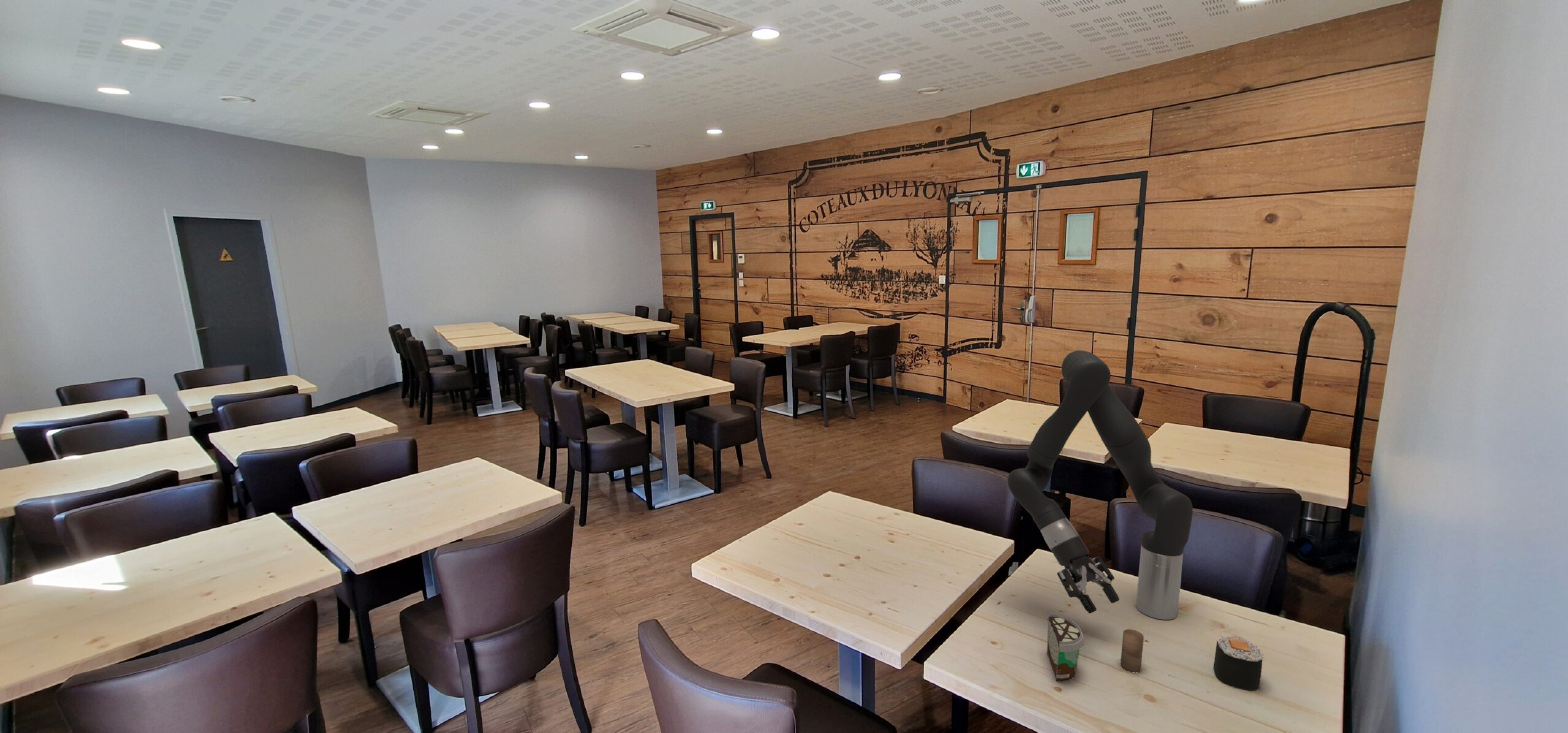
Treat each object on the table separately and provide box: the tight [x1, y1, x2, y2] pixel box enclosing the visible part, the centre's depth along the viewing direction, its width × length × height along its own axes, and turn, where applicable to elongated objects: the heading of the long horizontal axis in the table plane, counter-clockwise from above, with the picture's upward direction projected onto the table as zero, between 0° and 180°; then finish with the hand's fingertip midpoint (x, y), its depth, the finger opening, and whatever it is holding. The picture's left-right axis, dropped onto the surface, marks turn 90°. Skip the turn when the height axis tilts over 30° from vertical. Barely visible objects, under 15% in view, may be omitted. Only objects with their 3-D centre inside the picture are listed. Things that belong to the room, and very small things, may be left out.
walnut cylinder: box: [1120, 628, 1145, 674], centre depth 139 cm, size 4×4×8 cm
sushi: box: [1213, 635, 1265, 691], centre depth 135 cm, size 8×8×8 cm
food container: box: [1046, 612, 1085, 682], centre depth 139 cm, size 12×6×10 cm, turn 168°
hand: (1104, 607), depth 144 cm, fingers open, 8 cm apart
